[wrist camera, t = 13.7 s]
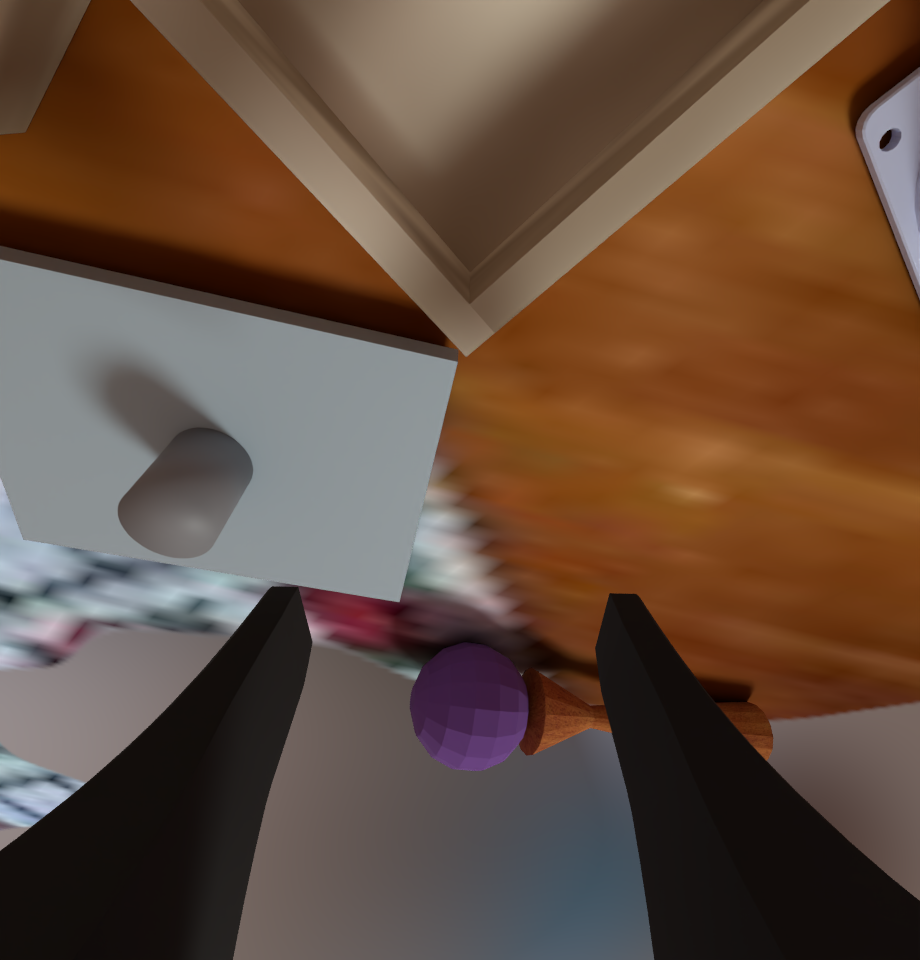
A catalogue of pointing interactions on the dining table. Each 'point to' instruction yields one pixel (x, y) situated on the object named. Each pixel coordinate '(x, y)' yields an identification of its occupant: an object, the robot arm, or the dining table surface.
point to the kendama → (516, 710)
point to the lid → (213, 428)
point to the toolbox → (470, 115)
